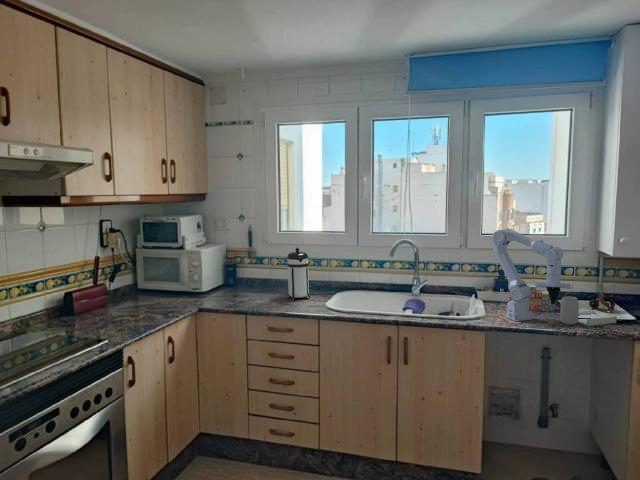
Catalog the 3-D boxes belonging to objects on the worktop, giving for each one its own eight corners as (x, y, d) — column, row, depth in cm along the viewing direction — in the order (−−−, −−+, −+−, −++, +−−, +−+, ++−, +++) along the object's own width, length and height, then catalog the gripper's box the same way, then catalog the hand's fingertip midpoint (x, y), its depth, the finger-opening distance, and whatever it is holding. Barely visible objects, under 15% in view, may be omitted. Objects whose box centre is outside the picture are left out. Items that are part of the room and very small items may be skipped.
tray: (588, 325, 211) (588, 319, 211) (567, 318, 224) (567, 312, 223) (616, 323, 214) (616, 316, 214) (593, 315, 227) (594, 309, 227)
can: (568, 326, 212) (569, 299, 211) (556, 321, 219) (557, 296, 218) (582, 324, 214) (583, 298, 213) (569, 320, 221) (570, 295, 220)
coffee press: (317, 296, 282) (315, 246, 278) (302, 302, 268) (300, 250, 265) (293, 293, 291) (292, 245, 288) (277, 298, 278) (276, 248, 274)
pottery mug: (600, 308, 242) (610, 296, 238) (611, 320, 234) (621, 308, 230) (580, 303, 240) (590, 291, 236) (591, 316, 232) (600, 303, 228)
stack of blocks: (554, 309, 241) (555, 285, 239) (555, 312, 235) (555, 288, 234) (509, 306, 249) (509, 283, 248) (509, 308, 244) (509, 285, 242)
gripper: (570, 273, 213) (569, 302, 215) (535, 272, 218) (534, 300, 220) (572, 275, 207) (571, 306, 208) (536, 274, 211) (536, 304, 213)
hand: (552, 303), depth 213 cm, fingers closed
